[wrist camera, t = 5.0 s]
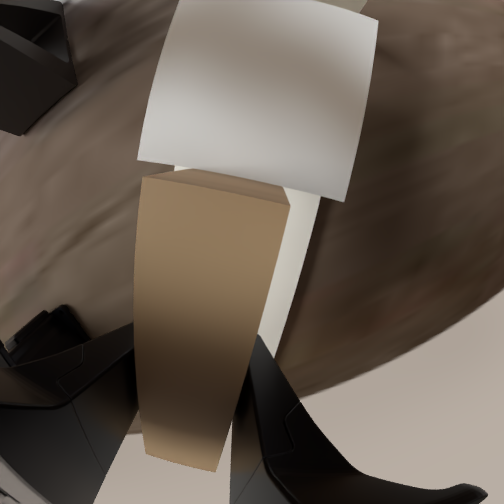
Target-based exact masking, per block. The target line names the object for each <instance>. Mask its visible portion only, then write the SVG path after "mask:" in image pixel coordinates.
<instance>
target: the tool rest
mask: <svg viewBox="0 0 504 504" xmlns="http://www.w3.org/2000/svg"><path fill="white" fill-rule="evenodd" d="M185 169H192V168H188V167H182V166H176V165H175V169H174V171H178V170H185ZM283 188H284V191H285V193H286V196H287V198H288V201H289V203H290V206H291V207H290V211H289V215H288V219H287V223H286V227H285V231H284V235H283V239H282V243H281V247H280V251H279V255H278V259H277V262H276V266H275V270H274V274H273V278H272V281H271V285H270V289H269V293H268V296H267V300H266V304H265V308H264V311H263V315H262V319H261V322H260V326H259V329H258V333H257V334H259V335H260V336H261V338H262V340H263V341H264V343H265V345H266V346H267V348H268V350H269V351H270V353H271V355H272V356H273V358H274V357H275V354H276V351H277V347H278V344H279V341H280V338H281V335H282V332H283V329H284V326H285V323H286V319H287V316H288V313H289V310H290V307H291V303H292V300H293V297H294V293H295V290H296V287H297V283H298V280H299V276H300V273H301V269H302V266H303V262H304V259H305V255H306V251H307V248H308V244H309V240H310V237H311V233H312V229H313V225H314V221H315V218H316V214H317V210H318V206H319V202H320V198H321V196H319V195H315V194H311V193H307V192H303V191H299V190H295V189H291V188H287V187H283Z"/></svg>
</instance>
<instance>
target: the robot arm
mask: <svg viewBox="0 0 504 504" xmlns="http://www.w3.org/2000/svg"><path fill="white" fill-rule="evenodd" d="M5 346H6V348H7V349H8V351H7V350H6V349H5V348H4V344H3V343H2V341H1V340H0V504H93V502H94V500H95V498H96V496H97V494H98V492H99V489H100V487H101V485H102V483H103V481H104V479H105V477H106V474H107V472H108V470H109V468H110V466H111V464H112V462H113V460H114V458H115V456H116V454H117V452H118V450H119V448H120V445H121V444H122V441H123V440H124V437H125V436H126V434H127V432H128V430H129V428H130V426H131V424H132V422H133V420H134V418H135V416H136V414H137V412H138V410H139V402H138V392H137V381H136V368H135V350H134V322H132V323H130V324H128V325H125V326H123V327H121V328H119V329H116V330H114V331H112V332H109V333H107V334H105V335H102V336H100V337H98V338H95V339H93V340H90V339H89V338H88V337H87V335H86V334H85V333H84V331H83V330H82V328H81V327H80V326H79V324H78V323H77V321H76V320H75V319H74V317H73V316H72V314H71V313H70V311H69V310H68V308H67V307H66V306H65V305H60V306H59V307H57V308H56V309H54V310H53V311H51V312H50V313H48V312H47V311H45V310H43V311H42V312H41V313H39V314H38V315H37V316H35V317H34V318H33V319H32V320H30V321H29V322H28V323H27V324H26V325H25V326H23V327H22V328H21V329H20V330H19V331H18V332H17V333H15V334H14V335H13V336H12V337H11V338H10V339H9V340H8V341H6V342H5ZM487 496H488V494H487V493H486V492H485V491H484V490H483V489H481V488H480V487H477V486H473V485H470V484H465V483H463V484H459V485H455V486H453V487H450V488H446V489H439V490H430V489H429V490H428V489H422V488H417V487H412V486H407V485H403V484H398V483H394V482H390V481H386V480H383V479H379V478H376V477H372V476H369V475H366V474H364V473H362V472H360V471H358V470H357V469H356V468H354V467H353V466H352V465H351V464H350V463H349V462H348V461H347V460H346V459H345V458H344V457H343V456H342V454H341V453H340V452H339V451H338V450H337V449H336V448H335V447H334V446H333V444H332V443H331V442H330V441H329V440H328V439H327V438H326V436H325V435H324V434H323V433H322V431H321V430H320V429H319V428H318V426H317V425H316V424H315V423H314V421H313V420H312V418H311V417H310V415H309V414H308V412H307V411H306V409H305V408H304V406H303V405H302V403H301V402H300V400H299V399H298V397H297V395H296V394H295V392H294V391H293V389H292V387H291V386H290V384H289V382H288V381H287V379H286V378H285V376H284V374H283V373H282V371H281V369H280V368H279V366H278V364H277V363H276V361H275V360H274V358H273V356H272V355H271V353H270V351H269V350H268V348H267V346H266V345H265V343H264V341H263V340H262V338H261V336H260V335H259V334H257V337H256V340H255V344H254V347H253V351H252V354H251V358H250V361H249V365H248V368H247V372H246V375H245V378H244V382H243V385H242V389H241V392H240V395H239V399H238V402H237V405H236V409H235V412H234V415H233V419H232V444H231V473H230V504H479V503H480V502H482V501H483V500H484V499H485V498H486V497H487Z"/></svg>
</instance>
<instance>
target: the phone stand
mask: <svg viewBox="0 0 504 504" xmlns="http://www.w3.org/2000/svg"><path fill="white" fill-rule="evenodd" d="M66 38H67V31H66V25H65V18H64V11H63V5H62V3H61V2H59V1H54V0H0V130H3V131H6V132H8V133H11V134H14V135H17V136H21V135H22V134H23V133H24V132H25V131H26V130H27V129H28V128H29V127H30V126H31V125H32V124H33V123H34V122H35V121H36V120H37V119H38V118H39V117H40V116H41V115H42V114H43V113H44V112H45V111H47V110H48V109H49V108H50V107H51V106H52V105H53V104H54V103H55V102H57V101H58V100H59V99H60V98H61V97H62V96H64V95H65V94H66V93H67V92H68V91H70V90H71V89H72V88H73V87H75V86H76V85H77V79H76V75H75V71H74V67H73V62H72V58H71V53H70V48H69V42H68V40H67V39H66Z"/></svg>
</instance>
